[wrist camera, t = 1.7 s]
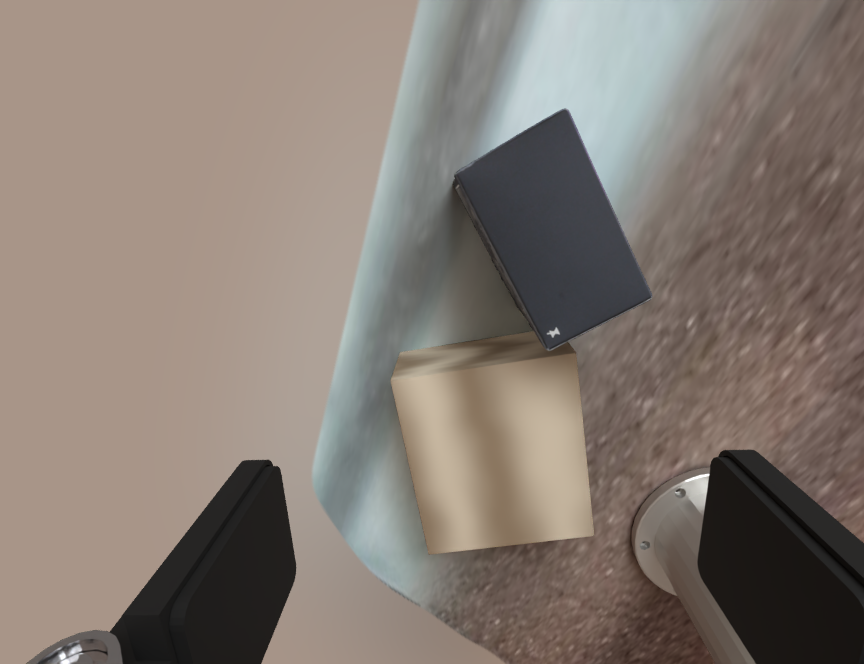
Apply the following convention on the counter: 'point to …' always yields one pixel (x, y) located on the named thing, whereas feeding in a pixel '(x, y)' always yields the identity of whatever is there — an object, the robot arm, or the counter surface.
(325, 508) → the counter surface
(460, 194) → the small box
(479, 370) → the birch block
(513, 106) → the counter surface
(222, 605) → the robot arm
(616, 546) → the counter surface
